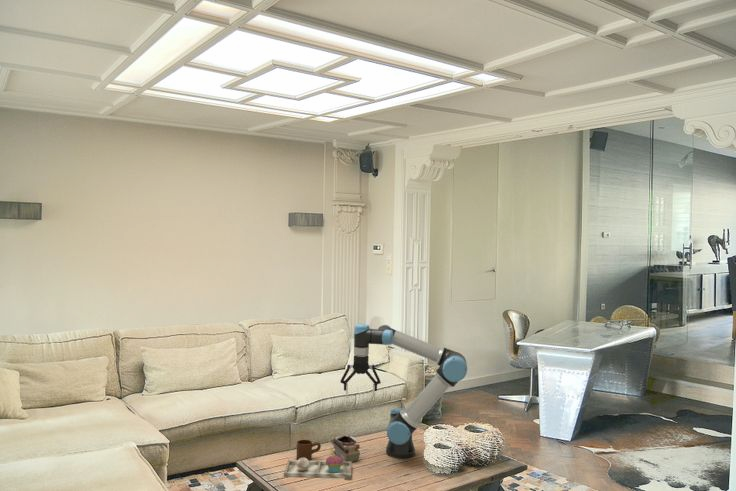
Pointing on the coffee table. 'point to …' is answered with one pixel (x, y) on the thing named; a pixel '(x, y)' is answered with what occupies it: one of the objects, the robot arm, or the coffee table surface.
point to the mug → (306, 449)
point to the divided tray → (317, 470)
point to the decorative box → (346, 448)
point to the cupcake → (334, 463)
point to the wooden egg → (302, 464)
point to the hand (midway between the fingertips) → (360, 397)
